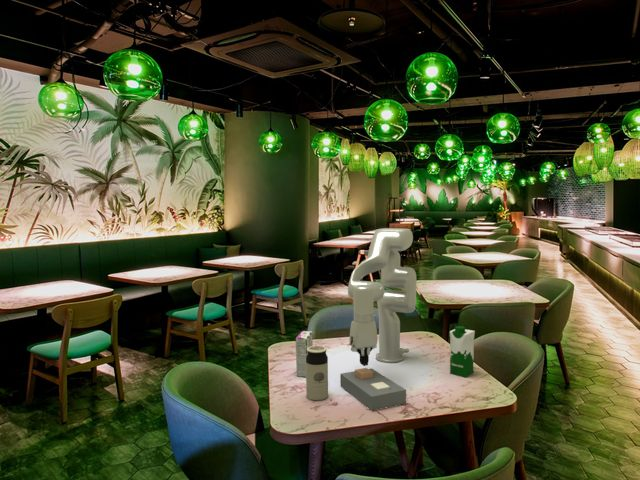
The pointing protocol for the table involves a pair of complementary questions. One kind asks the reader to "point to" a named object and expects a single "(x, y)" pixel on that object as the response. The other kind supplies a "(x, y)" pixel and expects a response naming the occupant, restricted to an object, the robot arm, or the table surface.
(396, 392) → the gray socket board
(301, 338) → the candy bar box
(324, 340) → the table surface
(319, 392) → the travel mug
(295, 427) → the table surface
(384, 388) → the cream cube
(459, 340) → the milk carton
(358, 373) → the terracotta key
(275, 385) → the table surface
